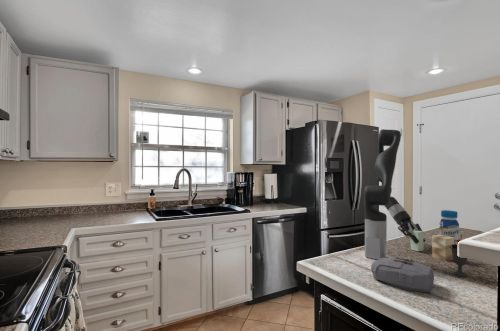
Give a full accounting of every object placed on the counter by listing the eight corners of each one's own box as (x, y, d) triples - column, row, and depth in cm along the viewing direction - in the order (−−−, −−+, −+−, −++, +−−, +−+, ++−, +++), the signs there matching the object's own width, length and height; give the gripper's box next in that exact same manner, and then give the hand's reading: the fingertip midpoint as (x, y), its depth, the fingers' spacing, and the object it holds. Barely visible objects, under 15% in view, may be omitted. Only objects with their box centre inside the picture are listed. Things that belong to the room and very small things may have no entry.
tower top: (454, 248, 121) (454, 237, 121) (445, 250, 119) (445, 238, 119) (440, 245, 127) (440, 234, 127) (432, 246, 125) (432, 235, 125)
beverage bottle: (458, 249, 137) (458, 210, 138) (460, 253, 130) (460, 212, 130) (438, 246, 142) (438, 209, 142) (439, 250, 135) (439, 211, 135)
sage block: (423, 250, 133) (423, 231, 134) (418, 251, 132) (418, 232, 132) (415, 248, 137) (416, 229, 137) (410, 249, 136) (410, 230, 136)
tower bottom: (454, 259, 121) (454, 248, 121) (445, 261, 119) (445, 249, 119) (440, 255, 127) (440, 245, 127) (432, 257, 125) (432, 246, 125)
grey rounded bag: (436, 283, 95) (376, 269, 108) (436, 259, 95) (376, 249, 108) (431, 298, 84) (365, 281, 97) (431, 271, 84) (365, 258, 97)
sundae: (466, 272, 106) (466, 234, 106) (474, 278, 99) (474, 238, 100) (446, 270, 108) (446, 233, 108) (453, 276, 101) (453, 237, 102)
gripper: (394, 210, 139) (416, 239, 128) (412, 209, 145) (435, 237, 133) (385, 219, 144) (406, 247, 132) (404, 217, 149) (425, 245, 138)
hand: (420, 242), depth 133 cm, fingers closed on sage block, 4 cm apart
